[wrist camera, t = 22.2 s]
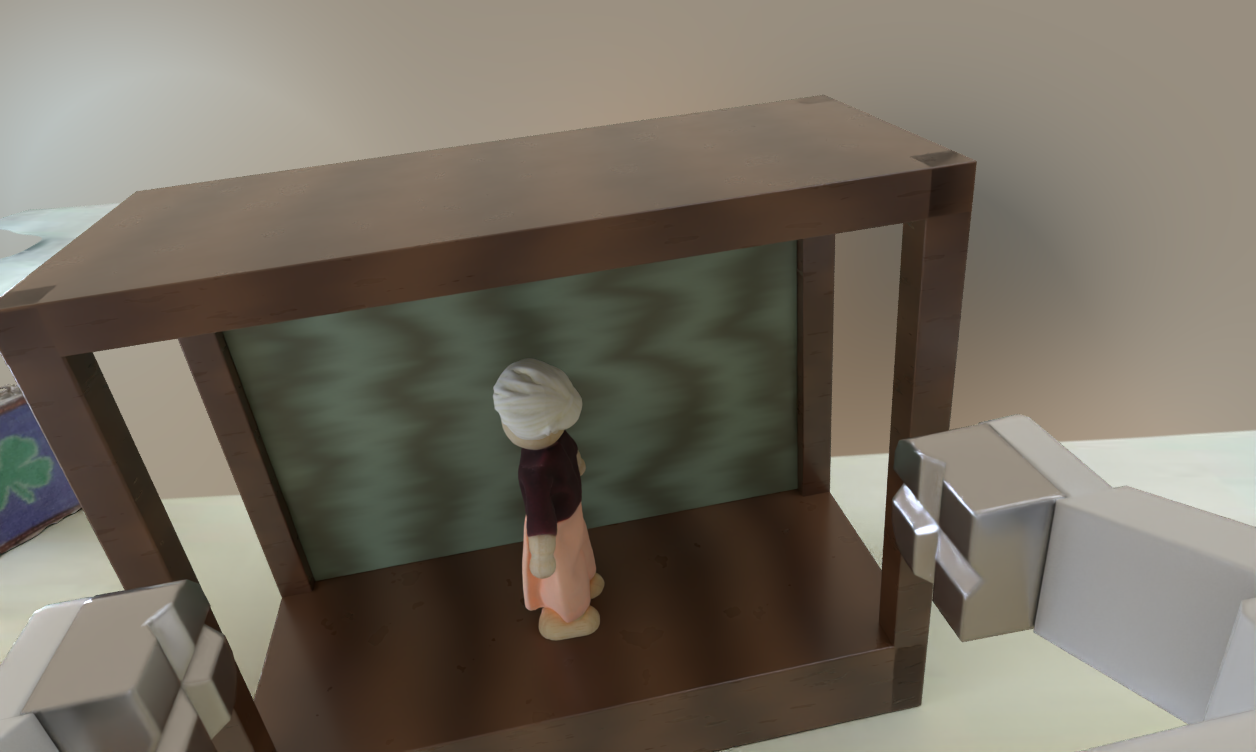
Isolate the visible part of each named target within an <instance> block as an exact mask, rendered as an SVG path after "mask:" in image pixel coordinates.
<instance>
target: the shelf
mask: <svg viewBox="0 0 1256 752" xmlns="http://www.w3.org/2000/svg"><path fill="white" fill-rule="evenodd" d="M976 163H977V162H976V161H975V160H973V159H971V158H968V157H966V156H964V155H961V154H959V153H957V152H955V151H952V150H950V149H948V148H945V147H943V146H941V145H939V144H936V143H934V142H932V141H929V140H927V139H925V138H922V137H920V136H918V135H915V134H913V133H911V132H909V131H906V130H904V129H902V128H899V127H897V126H895V125H892V124H890V123H888V122H885V121H883V120H881V119H879V118H876V117H874V116H872V115H870V114H867V113H865V112H862V111H860V110H858V109H856V108H853V107H851V106H849V105H846V104H844V103H842V102H839V101H837V100H835V99H833V98H830V97H828V96H826V95H820V96H812V97H805V98H798V99H791V100H783V101H776V102H769V103H763V104H755V105H748V106H741V107H734V108H728V109H720V110H713V111H706V112H698V113H691V114H684V115H677V116H670V117H663V118H657V119H656V118H655V119H648V120H641V121H634V122H627V123H620V124H613V125H606V126H600V127H592V128H584V129H578V130H570V131H564V132H556V133H549V134H542V135H535V136H527V137H521V138H514V139H506V140H499V141H492V142H485V143H478V144H471V145H464V146H457V147H449V148H442V149H436V150H429V151H421V152H414V153H407V154H400V155H392V156H386V157H378V158H371V159H364V160H357V161H350V162H343V163H336V164H328V165H322V166H315V167H307V168H300V169H293V170H286V171H279V172H272V173H265V174H258V175H250V176H243V177H236V178H229V179H222V180H215V181H208V182H200V183H193V184H186V185H180V186H172V187H165V188H159V189H151V190H144V191H136V192H135V193H134V194H132V195H131V196H130V197H129V198H127V199H126V200H125V201H123V202H122V203H121V204H120V205H118V206H117V207H116V208H114V209H113V210H112V211H111V212H109V213H108V214H107V215H105V216H104V217H103V218H101V219H100V220H99V221H98V222H96V223H95V224H94V225H92V226H91V227H90V228H89V229H87V230H86V231H85V232H83V233H82V234H81V235H80V236H78V237H77V238H76V239H74V240H73V241H72V242H71V243H69V244H68V245H67V246H65V247H64V248H63V249H62V250H60V251H59V252H58V253H56V254H55V255H54V256H53V257H51V258H50V259H49V260H47V261H46V262H45V263H43V264H42V265H41V266H40V267H38V268H37V269H36V270H34V271H33V272H32V273H31V274H29V275H28V276H27V277H25V278H24V279H23V280H22V281H20V282H19V283H18V284H16V285H15V286H14V287H13V288H11V289H10V290H9V291H7V292H6V293H5V294H4V295H2V296H1V297H0V354H1V356H2V357H3V359H4V361H5V363H6V365H8V367H9V369H10V371H11V373H12V375H13V377H14V379H15V381H16V382H17V385H18V386H19V388H20V390H21V392H22V394H23V396H24V398H25V400H26V402H27V404H28V406H29V408H30V409H31V411H32V413H33V415H34V417H35V419H36V421H37V423H38V425H39V427H40V429H41V431H42V432H43V434H44V436H45V438H46V440H47V442H48V444H49V446H50V448H51V450H52V452H53V454H54V455H55V457H56V459H57V461H58V463H59V465H60V467H61V469H62V471H63V473H64V475H65V477H66V478H67V480H68V482H69V484H70V486H71V488H72V490H73V492H74V494H75V496H76V498H77V500H78V501H79V503H80V505H81V507H82V509H83V511H84V513H85V515H86V517H87V519H88V521H89V523H90V524H91V526H92V528H93V530H94V532H95V534H96V536H97V538H98V540H99V542H100V544H101V546H102V547H103V549H104V551H105V553H106V555H107V557H108V559H109V561H110V563H111V565H112V567H113V569H114V570H115V572H116V574H117V576H118V578H119V580H120V582H121V584H122V586H123V588H124V590H130V589H136V588H141V587H147V586H153V585H158V584H164V583H170V582H175V581H181V580H187V579H188V580H190V581H193V582H196V583H198V584H199V582H198V579H197V577H196V575H195V573H194V571H193V569H192V566H191V564H190V562H189V560H188V558H187V556H186V553H185V551H184V549H183V547H182V545H181V543H180V540H179V538H178V536H177V534H176V532H175V530H174V527H173V525H172V523H171V521H170V519H169V517H168V514H167V512H166V510H165V508H164V506H163V504H162V501H161V499H160V497H159V495H158V493H157V491H156V488H155V486H154V484H153V482H152V480H151V478H150V476H149V473H148V471H147V469H146V467H145V465H144V463H143V460H142V458H141V456H140V454H139V452H138V450H137V447H136V446H135V443H134V441H133V439H132V437H131V434H130V432H129V430H128V428H127V426H126V424H125V421H124V419H123V417H122V415H121V413H120V411H119V408H118V406H117V404H116V402H115V400H114V398H113V395H112V394H111V391H110V389H109V387H108V385H107V382H106V380H105V378H104V376H103V374H102V372H101V370H100V368H99V365H98V363H97V361H96V359H95V357H94V354H93V352H96V351H102V350H109V349H114V348H121V347H128V346H134V345H140V344H146V343H153V342H159V341H165V340H171V339H178V340H179V343H180V346H181V348H182V351H183V353H184V356H185V358H186V361H187V363H188V366H189V368H190V371H191V373H192V376H193V378H194V381H195V383H196V385H197V388H198V390H199V393H200V395H201V398H202V400H203V403H204V405H205V408H206V410H207V413H208V415H209V418H210V420H211V423H212V425H213V428H214V430H215V433H216V435H217V438H218V440H219V443H220V445H221V448H222V450H223V453H224V455H225V457H226V460H227V462H228V465H229V467H230V470H231V472H232V475H233V477H234V480H235V482H236V485H237V487H238V490H239V492H240V495H241V497H242V500H243V502H244V505H245V507H246V510H247V512H248V515H249V517H250V520H251V522H252V525H253V527H254V529H255V532H256V534H257V537H258V539H259V542H260V544H261V547H262V549H263V552H264V554H265V557H266V559H267V562H268V564H269V567H270V569H271V572H272V574H273V577H274V579H275V582H276V584H277V587H278V589H279V592H280V594H281V597H282V600H281V603H280V607H279V611H278V614H277V618H276V622H275V625H274V629H273V633H272V636H271V640H270V643H269V647H268V651H267V654H266V658H265V662H264V665H263V669H262V673H261V676H260V680H259V684H258V687H257V691H256V694H255V698H254V701H253V699H252V696H251V694H250V692H249V690H248V688H247V686H246V683H245V681H244V679H243V677H242V675H241V673H240V670H239V668H238V666H237V664H236V662H235V665H236V670H237V692H236V701H235V705H234V708H233V712H232V716H231V719H230V721H229V722H228V723H227V724H226V725H225V726H224V727H223V728H222V729H221V730H220V731H219V732H218V733H217V734H216V735H215V736H214V737H213V739H212V742H213V744H214V746H215V748H216V750H217V751H218V752H713V751H717V750H722V749H726V748H731V747H735V746H740V745H744V744H749V743H753V742H757V741H762V740H766V739H771V738H775V737H780V736H784V735H789V734H793V733H798V732H802V731H807V730H811V729H815V728H820V727H824V726H829V725H833V724H838V723H842V722H847V721H851V720H856V719H860V718H865V717H869V716H873V715H878V714H882V713H887V712H893V711H897V710H902V709H906V708H911V707H915V706H920V705H921V702H922V692H923V682H924V672H925V662H926V652H927V643H928V633H929V623H930V613H931V603H932V594H933V583H931V582H929V581H927V580H924V579H922V578H920V577H918V576H916V575H914V574H913V572H912V571H911V569H910V568H909V566H908V565H907V564H906V562H905V561H904V559H903V557H902V554H901V552H900V550H899V548H898V546H897V543H896V539H895V534H894V530H893V526H892V499H893V497H894V496H895V494H896V493H897V492H898V490H899V489H900V488H901V486H902V485H903V484H904V482H903V481H902V479H901V478H900V477H899V476H898V474H897V473H896V472H895V470H894V455H895V450H896V447H897V445H898V442H899V440H903V439H908V438H913V437H918V436H923V435H928V434H933V433H938V432H943V431H948V430H949V427H950V417H951V407H952V397H953V387H954V377H955V368H956V367H955V366H956V358H957V347H958V338H959V328H960V319H961V309H962V299H963V289H964V279H965V270H966V260H967V249H968V240H969V231H970V221H971V211H972V202H973V192H974V183H975V172H976ZM900 223H903V235H902V252H901V268H900V284H899V300H898V316H897V333H896V350H895V365H894V381H893V398H892V414H891V431H890V446H889V463H888V479H887V495H886V511H885V527H884V544H883V560H882V570H881V569H880V567H879V566H878V564H877V563H876V561H875V560H874V558H873V557H872V555H871V554H870V552H869V551H868V549H867V548H866V546H865V545H864V543H863V542H862V540H861V538H860V537H859V535H858V534H857V532H856V531H855V529H854V528H853V526H852V525H851V523H850V522H849V520H848V519H847V517H846V516H845V514H844V513H843V511H842V510H841V508H840V507H839V505H838V504H837V502H836V501H835V499H834V498H833V496H832V495H831V493H830V459H831V410H832V361H833V313H834V312H833V311H834V266H835V234H837V233H843V232H850V231H856V230H862V229H868V228H875V227H881V226H887V225H894V224H900ZM527 358H531V359H536V360H539V361H542V362H545V363H547V364H549V365H551V366H554V367H556V368H558V369H560V370H562V371H563V372H564V373H565V374H566V375H567V377H568V378H569V380H570V381H571V383H572V385H573V387H574V388H575V389H576V390H577V392H578V393H579V395H580V397H581V398H582V410H581V413H580V416H579V419H578V420H577V422H576V423H575V424H574V425H573V426H571V427H570V428H568V429H565V430H566V431H567V433H568V434H569V435H570V436H571V437H572V438H573V439H574V441H575V442H576V444H577V446H578V451H579V453H580V455H581V458H582V459H583V460H584V462H585V465H586V469H585V472H584V473H583V475H581V476H580V477H581V484H582V501H581V505H582V512H583V519H584V521H585V523H586V526H587V530H588V535H589V539H590V543H591V547H592V550H593V554H594V559H595V564H596V573H598V574H599V575H600V576H601V577H602V578H603V580H604V588H603V590H602V592H601V593H600V595H598V596H597V597H595V598H593V599H591V601H590V605H591V606H592V607H594V608H595V609H596V610H597V611H598V613H599V615H600V625H599V627H598V629H597V630H596V631H595V632H593V633H592V634H589V635H586V636H581V637H575V638H569V639H563V640H550V639H546V638H545V637H543V636H542V635H541V633H540V631H539V618H540V615H541V613H542V609H543V608H544V607H540V608H538V609H536V610H531V611H530V610H528V609H527V608H526V607H525V599H524V591H523V575H522V557H523V539H524V522H525V517H526V513H525V505H524V501H523V497H522V493H521V489H520V486H519V480H518V468H519V463H520V457H521V449H522V447H519V446H517V445H515V444H514V443H513V442H512V441H511V440H510V439H509V438H508V437H507V435H506V433H505V432H504V429H503V426H502V422H501V417H500V414H499V412H497V411H496V410H495V405H494V399H493V394H494V389H493V387H494V386H495V384H496V382H497V380H498V378H499V377H500V375H501V373H503V371H504V370H505V369H506V368H507V367H508V366H509V365H510V364H512V363H514V362H517V361H520V360H522V359H527ZM199 585H200V584H199ZM200 587H201V586H200ZM201 589H202V588H201ZM202 591H203V590H202ZM204 624H206V625H207V626H209V627H211V628H213V629H215V630H216V631H218V632H220V633H222V631H221V629H220V627H219V625H218V623H217V621H216V618H215V616H214V614H213V612H212V610H211V608H210V609H209V612H208V614H207V617H206V620H205V622H204ZM234 661H235V660H234Z"/></svg>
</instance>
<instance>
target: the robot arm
mask: <svg viewBox="0 0 1256 752" xmlns="http://www.w3.org/2000/svg"><path fill="white" fill-rule="evenodd" d="M894 470H895V472H896V473H897V474H898V476H899V477H900V478H901V479H902V481H903V482H904V484H903V485H902V486H901V488H900V489H899V490H898V492H897V493H896V494H895V496H894V497H893V499H892V526H893V530H894V534H895V539H896V543H897V546H898V548H899V550H900V552H901V554H902V557H903V559H904V561H905V562H906V564H907V565H908V566H909V568H910V569H911V571H912V572H913V574H914V575H916V576H918V577H920V578H922V579H924V580H927V581H929V582H931V583H933V584H934V586H933V599H932V601H933V602H934V604H935V605H936V607H937V608H938V609H939V611H940V612H941V614H942V615H943V616H944V618H945V619H946V621H947V622H948V623H949V625H950V626H951V628H952V629H953V631H954V632H955V633H956V635H957V636H958V638H959V639H960V640H961V642H967V641H972V640H977V639H982V638H987V637H992V636H998V635H1003V634H1008V633H1013V632H1018V631H1023V630H1029V629H1034V633H1036V634H1038V635H1039V636H1041V637H1043V638H1044V639H1046V640H1048V641H1049V642H1051V643H1053V644H1054V645H1056V646H1058V647H1059V648H1061V649H1063V650H1064V651H1066V652H1068V653H1069V654H1071V655H1073V656H1074V657H1076V658H1078V659H1080V660H1081V661H1083V662H1085V663H1086V664H1088V665H1090V666H1091V667H1093V668H1095V669H1096V670H1098V671H1100V672H1101V673H1103V674H1105V675H1106V676H1108V677H1110V678H1111V679H1113V680H1115V681H1116V682H1118V683H1120V684H1122V685H1123V686H1125V687H1127V688H1128V689H1130V690H1132V691H1133V692H1135V693H1137V694H1138V695H1140V696H1142V697H1143V698H1145V699H1147V700H1148V701H1150V702H1152V703H1153V704H1155V705H1157V706H1158V707H1160V708H1162V709H1164V710H1165V711H1167V712H1169V713H1170V714H1172V715H1174V716H1175V717H1177V718H1179V719H1180V720H1182V721H1184V722H1185V723H1187V724H1189V725H1185V726H1181V727H1177V728H1173V729H1168V730H1164V731H1160V732H1156V733H1152V734H1148V735H1143V736H1139V737H1135V738H1131V739H1127V740H1122V741H1118V742H1114V743H1110V744H1106V745H1102V746H1097V747H1093V748H1089V749H1085V750H1081V751H1076V752H1256V527H1254V526H1250V525H1247V524H1244V523H1241V522H1238V521H1235V520H1232V519H1229V518H1226V517H1222V516H1219V515H1216V514H1213V513H1210V512H1207V511H1204V510H1201V509H1197V508H1194V507H1191V506H1188V505H1185V504H1182V503H1179V502H1176V501H1172V500H1169V499H1166V498H1163V497H1160V496H1157V495H1154V494H1151V493H1147V492H1144V491H1141V490H1138V489H1135V488H1132V487H1129V486H1122V487H1117V488H1113V487H1111V486H1110V485H1109V484H1108V483H1107V482H1106V481H1104V480H1103V479H1102V478H1101V477H1100V476H1098V475H1097V474H1096V473H1095V472H1094V471H1093V470H1091V469H1090V468H1089V467H1088V466H1087V465H1085V464H1084V463H1083V462H1082V461H1081V460H1080V459H1078V458H1077V457H1076V456H1075V455H1074V454H1072V453H1071V452H1070V451H1069V450H1068V449H1067V448H1065V447H1064V446H1063V445H1062V444H1061V443H1059V442H1058V441H1057V440H1056V439H1055V438H1054V437H1052V436H1051V435H1050V434H1049V433H1047V432H1046V431H1045V430H1044V429H1043V428H1041V426H1039V425H1038V424H1037V423H1036V422H1034V421H1033V420H1032V419H1031V418H1030V417H1027V416H1024V415H1020V414H1016V415H1011V416H1006V417H1002V418H998V419H993V420H989V421H984V422H980V423H978V424H977V425H973V426H968V427H963V428H958V429H953V430H948V431H943V432H938V433H933V434H928V435H923V436H918V437H913V438H908V439H903V440H899V442H898V445H897V447H896V450H895V455H894ZM210 606H211V605H210V604H209V602H208V600H207V598H206V596H205V594H204V592H203V591H202V589H201V587H200V585H199V584H198V583H196V582H193V581H190V580H188V579H187V580H181V581H175V582H170V583H164V584H158V585H153V586H147V587H141V588H136V589H130V590H124V591H118V592H113V593H107V594H101V595H96V596H94V597H86V598H81V599H75V600H70V601H65V602H60V603H54V604H49V605H47V606H45V607H43V608H41V609H39V610H38V611H36V612H34V613H33V615H32V616H31V618H30V620H29V621H28V623H27V624H26V626H25V627H24V629H23V630H22V632H21V633H20V635H19V637H18V638H17V640H16V641H15V643H14V644H13V646H12V647H11V649H10V650H9V652H8V654H7V655H6V657H5V658H4V660H3V661H2V663H1V664H0V752H218V751H217V750H216V748H215V746H214V744H213V742H212V739H213V737H214V736H215V735H216V734H217V733H218V732H219V731H220V730H221V729H222V728H223V727H224V726H225V725H226V724H227V723H228V722H229V721H230V719H231V716H232V712H233V708H234V705H235V701H236V692H237V670H236V665H235V661H234V657H233V652H232V650H231V648H230V645H229V643H228V641H227V639H226V637H225V635H224V634H222V633H220V632H218V631H216V630H215V629H213V628H211V627H209V626H207V625H206V624H204V622H205V620H206V617H207V614H208V612H209V609H210Z"/></svg>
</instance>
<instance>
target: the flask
mask: <svg viewBox="0 0 1256 752" xmlns="http://www.w3.org/2000/svg"><path fill="white" fill-rule="evenodd" d="M3 388H5V389H7V390H4V391H1V392H0V553H1V554H2V553H4V552H6V551H8V550H9V549H11V548H13V547H16V546H17V545H19V544H22V543H24V542H26V541H27V540H30V539H32V538H33V537H34V536H36V535H38V534H39V533H40V532H41V531H43V530H44V529H45V528H46V526H49V525H50V524H52V523H58V522H59V521H60V520H61V519H62V518H63V517H65V516H67V515H69V514H72V513H76V511H78V510H79V509H80V508H82V507H81V505H80V503H79V501H78V500H77V498H76V496H75V494H74V492H73V490H72V488H71V486H70V484H69V482H68V480H67V478H66V477H65V475H64V473H63V471H62V469H61V467H60V465H59V463H58V461H57V459H56V457H55V455H54V454H53V452H52V450H51V448H50V446H49V444H48V442H47V440H46V438H45V436H44V434H43V432H42V431H41V429H40V427H39V425H38V423H37V421H36V419H35V417H34V415H33V413H32V411H31V409H30V408H29V406H28V404H27V402H26V400H25V398H24V396H23V394H22V392H21V390H20V388H19V386H18V385H16V386H15V385H11V384H7V385H4V386H2V387H0V389H3Z"/></svg>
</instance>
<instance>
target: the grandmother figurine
mask: <svg viewBox="0 0 1256 752" xmlns="http://www.w3.org/2000/svg"><path fill="white" fill-rule="evenodd" d="M493 389H494V394H493V399H494V405H495V410H496V411H497V412H499V414H500V417H501V422H502V426H503V429H504V432H505V433H506V435H507V437H508V438H509V439H510V440H511V441H512V442H513V443H514V444H515V445H517V446H519V447H522V449H521V457H520V463H519V468H518V480H519V486H520V489H521V493H522V497H523V501H524V505H525V513H526V517H525V522H524V539H523V557H522V575H523V591H524V599H525V607H526V608H527V609H528V610H530V611H531V610H536V609H538V608H540V607H544V608H543V609H542V613H541V615H540V618H539V631H540V633H541V635H542V636H543V637H545V638H546V639H550V640H563V639H569V638H575V637H581V636H586V635H589V634H592V633H593V632H595V631H596V630H597V629H598V627H599V625H600V615H599V613H598V611H597V610H596V609H595V608H594V607H592V606H591V605H590V601H591V599H593V598H595V597H597V596H598V595H600V593H601V592H602V590H603V588H604V580H603V578H602V577H601V576H600V575H599V574H598V573H596V564H595V559H594V554H593V550H592V547H591V543H590V539H589V535H588V530H587V526H586V523H585V521H584V519H583V512H582V505H581V501H582V484H581V477H580V476H581V475H583V473H584V472H585V469H586V465H585V462H584V460H583V459H582V458H581V455H580V453H579V451H578V446H577V444H576V442H575V441H574V439H573V438H572V437H571V436H570V435H569V434H568V433H567V431H566V430H565V429H568V428H570V427H571V426H573V425H574V424H575V423H576V422H577V420H578V419H579V416H580V413H581V410H582V398H581V397H580V395H579V393H578V392H577V390H576V389H575V388H574V387H573V385H572V383H571V381H570V380H569V378H568V377H567V375H566V374H565V373H564V372H563V371H562V370H560V369H558V368H556V367H554V366H551V365H549V364H547V363H545V362H542V361H539V360H536V359H531V358H527V359H522V360H520V361H517V362H514V363H512V364H510V365H509V366H508V367H507V368H506V369H505V370H504V371H503V373H501V375H500V377H499V378H498V380H497V382H496V384H495V386H494V387H493Z"/></svg>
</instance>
